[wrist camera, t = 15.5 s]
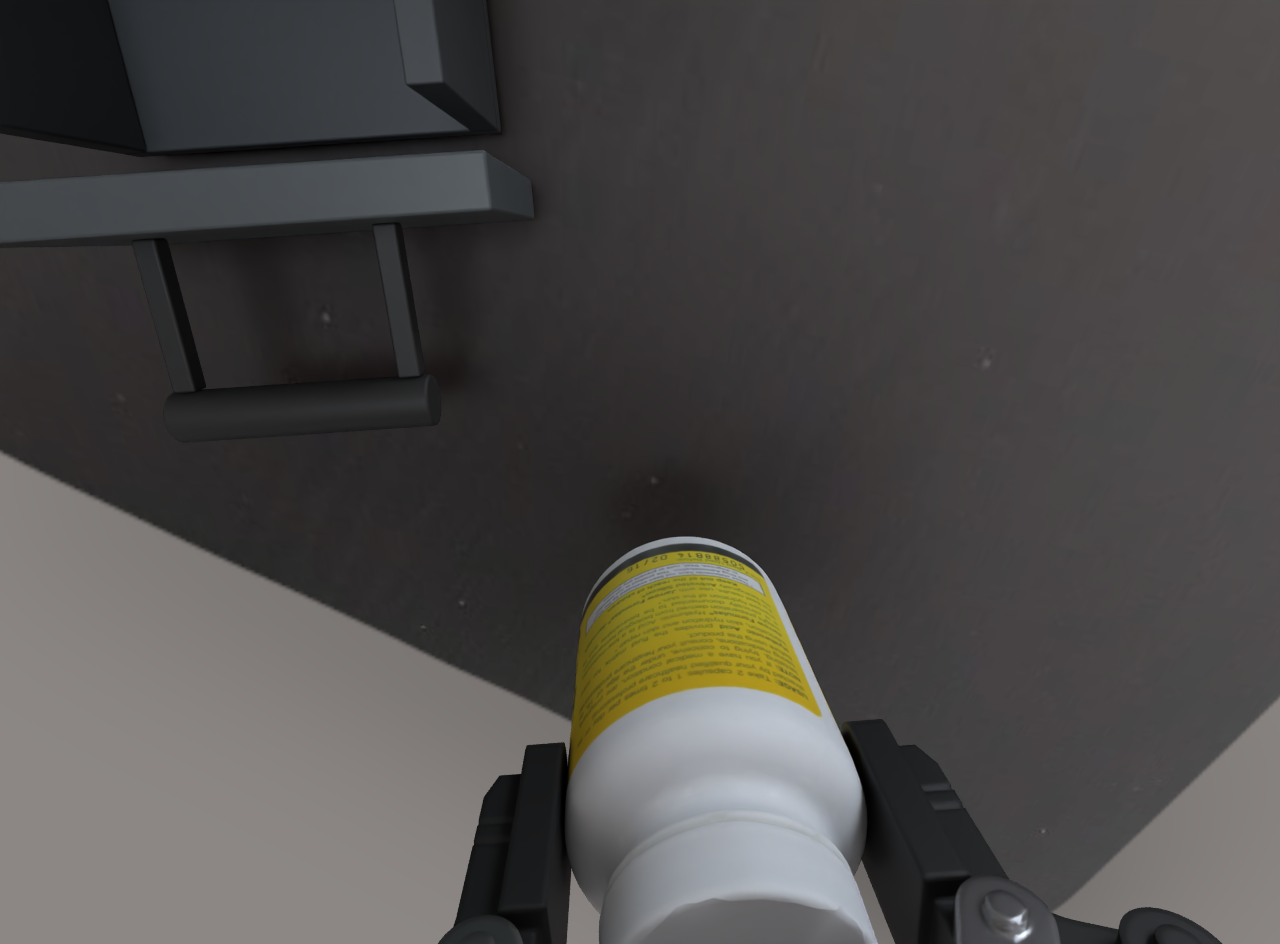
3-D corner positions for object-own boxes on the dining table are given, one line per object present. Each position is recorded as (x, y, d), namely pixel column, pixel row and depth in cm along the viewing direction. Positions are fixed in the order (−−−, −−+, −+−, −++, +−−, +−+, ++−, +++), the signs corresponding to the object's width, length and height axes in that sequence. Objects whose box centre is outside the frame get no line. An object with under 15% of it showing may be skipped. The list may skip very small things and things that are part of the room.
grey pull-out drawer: (552, 383, 24) (521, 448, 17) (190, 407, 24) (-2, 484, 16) (471, -390, 18) (363, -844, 10) (-21, -360, 18) (-488, -793, 10)
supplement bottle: (539, 598, 18) (465, 964, 9) (715, 492, 18) (830, 773, 8) (648, 738, 20) (680, 1174, 11) (815, 647, 19) (1005, 1029, 10)
